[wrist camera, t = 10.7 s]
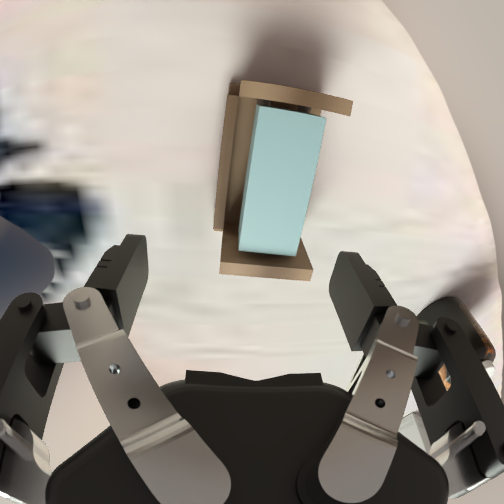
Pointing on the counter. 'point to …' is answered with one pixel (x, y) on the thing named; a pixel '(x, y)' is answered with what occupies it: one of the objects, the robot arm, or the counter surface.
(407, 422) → the supplement box
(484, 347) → the jar
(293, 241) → the light teal block
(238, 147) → the shelf rack
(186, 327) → the counter surface
